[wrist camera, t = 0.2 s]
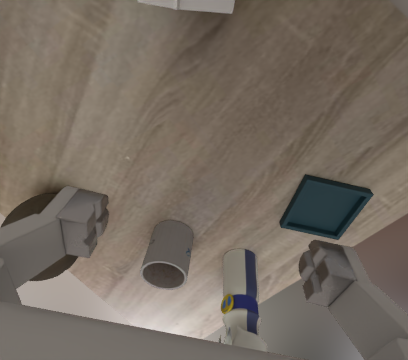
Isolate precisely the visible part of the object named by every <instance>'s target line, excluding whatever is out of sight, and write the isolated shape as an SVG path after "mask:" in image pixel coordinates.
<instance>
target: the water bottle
mask: <svg viewBox="0 0 408 360" xmlns="http://www.w3.org/2000/svg"><path fill="white" fill-rule="evenodd" d="M258 302H259V285H258V266H257V257H256V255H255V254H254V253H253V252H251V251H249V250H246V249H233V250H230V251H228V252H227V253H226V254H225V255H224V256H223V300H222V304H221V311H222V313H223V314H225V315H224V316H223V322H224V324H225V326H226V337H225V340H224V343H223V344H228V345H234V346H239V347H244V348H249V349H254V350H260V351H265V352H267V345H266V343H265V341H263V339H262V338H260V337H259V332H258V331H259V326H260V324H261V318H260V316H259V315H258ZM219 343H221V337H220V338H219Z"/></svg>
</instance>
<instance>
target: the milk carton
mask: <svg viewBox="0 0 408 360" xmlns="http://www.w3.org/2000/svg"><path fill="white" fill-rule="evenodd" d="M137 1H138V2H140V3H145V4H151V5H157V6H162V7H168V8H173V9H174V10H179V9H180V10H192V11H205V12H217V13H229V14H232V12H233V9H234V3H235V0H137Z"/></svg>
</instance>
